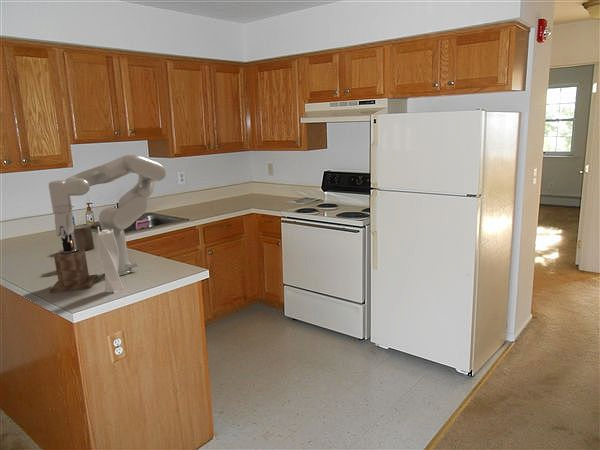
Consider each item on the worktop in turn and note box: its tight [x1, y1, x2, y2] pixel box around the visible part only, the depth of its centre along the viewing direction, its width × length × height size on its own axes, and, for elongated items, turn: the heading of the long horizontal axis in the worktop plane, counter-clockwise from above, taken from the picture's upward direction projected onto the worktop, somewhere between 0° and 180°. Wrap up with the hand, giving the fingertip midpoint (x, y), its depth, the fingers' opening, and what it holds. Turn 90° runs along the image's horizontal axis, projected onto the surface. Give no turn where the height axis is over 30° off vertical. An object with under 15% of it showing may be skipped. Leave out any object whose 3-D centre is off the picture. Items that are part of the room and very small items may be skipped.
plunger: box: [60, 239, 78, 254], centre depth 204 cm, size 7×7×18 cm
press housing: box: [49, 248, 99, 293], centre depth 204 cm, size 16×15×16 cm
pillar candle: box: [72, 224, 95, 252], centre depth 267 cm, size 10×10×15 cm
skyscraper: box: [97, 226, 125, 294], centre depth 193 cm, size 8×8×28 cm
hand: (69, 249), depth 203 cm, fingers closed on plunger, 3 cm apart
